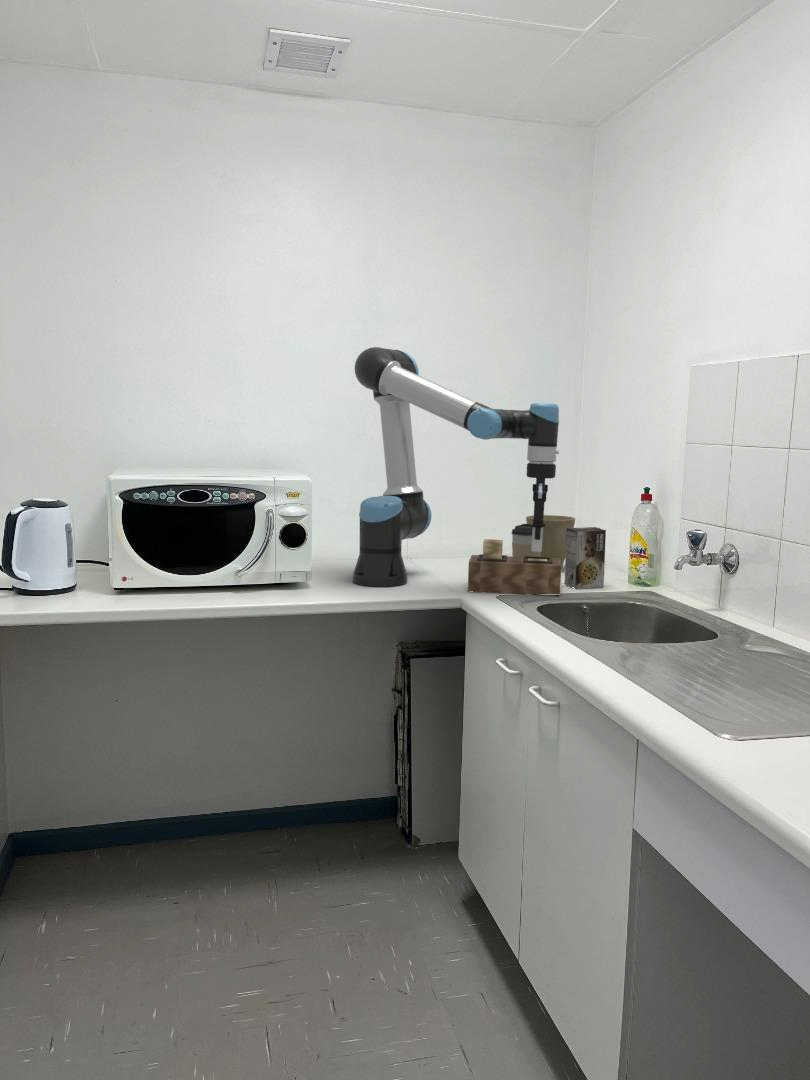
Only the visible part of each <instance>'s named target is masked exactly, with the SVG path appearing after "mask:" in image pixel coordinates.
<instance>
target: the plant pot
mask: <svg viewBox="0 0 810 1080" xmlns="http://www.w3.org/2000/svg"><path fill="white" fill-rule="evenodd" d="M525 519H526V520H525V521H526V524H530V525H533V519H534V514H533V515H528V516H526V517H525ZM543 523H544V524H545V527H544V526H543V537H542V552H541V553H540V557H552V558H560V562H561V568H562V567H563V565H564V563H565V559H566V533H567V528H575V523H576V518H575V517H572V516H567V515H554V514H553V515H549V514H547V515H546V514H544V517H543Z"/></svg>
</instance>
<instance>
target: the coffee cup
mask: <svg viewBox="0 0 810 1080" xmlns="http://www.w3.org/2000/svg"><path fill="white" fill-rule="evenodd" d="M532 530H533V527H531V525H530V524H527V523H522V524H519V525H515V526H514V528H513V529H511V537H512V541H511V546H512V547H511V548H512V549H511V550H512V551H511V552H512V555H511V556H513V557H523V556H535V557H540V553H541V552H534V551H531V548H532Z"/></svg>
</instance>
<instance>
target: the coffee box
mask: <svg viewBox="0 0 810 1080" xmlns="http://www.w3.org/2000/svg"><path fill="white" fill-rule="evenodd" d="M606 532H607V529H604V528H600V527H596V526H592V527H591V526H590V527H589V526H585V527H574V528H567V533H566V558H565V560H564V563H565V564H564V567H565V568H564V583H563V584H565V585H564V586H566V585H568V586H567V587H569V586H571V587H574V588H583V589H593V588H592V587H598V588H604V586H605V583H604V582H605V564H606V563H605V562H606V561H605V560H606V559H605V558H606V535H607V533H606ZM571 587H570V588H571ZM574 588H573V589H574Z"/></svg>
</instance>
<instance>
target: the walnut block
mask: <svg viewBox="0 0 810 1080" xmlns="http://www.w3.org/2000/svg"><path fill="white" fill-rule="evenodd" d="M528 558H531V559H547V561H529V560H528ZM467 570H468V573H467V574H468V575H467V578H468V580H467V592H468V591H473V592H472V593H482V592H485V593H486V594H504V593H505V594H504V595H506V594H507V595H508V594H509V595H511V594H512V595H525V594H560V595H561V582H562V581H561V580H562V579H561V578H562V567H561V562H560V558H552V557H535V556H523V557H513V556H512V555H510V556H509V555H506V554H502V559H483V553H482V554H480V553H479V554H471V555H470V558H469V561H468V569H467Z"/></svg>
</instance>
